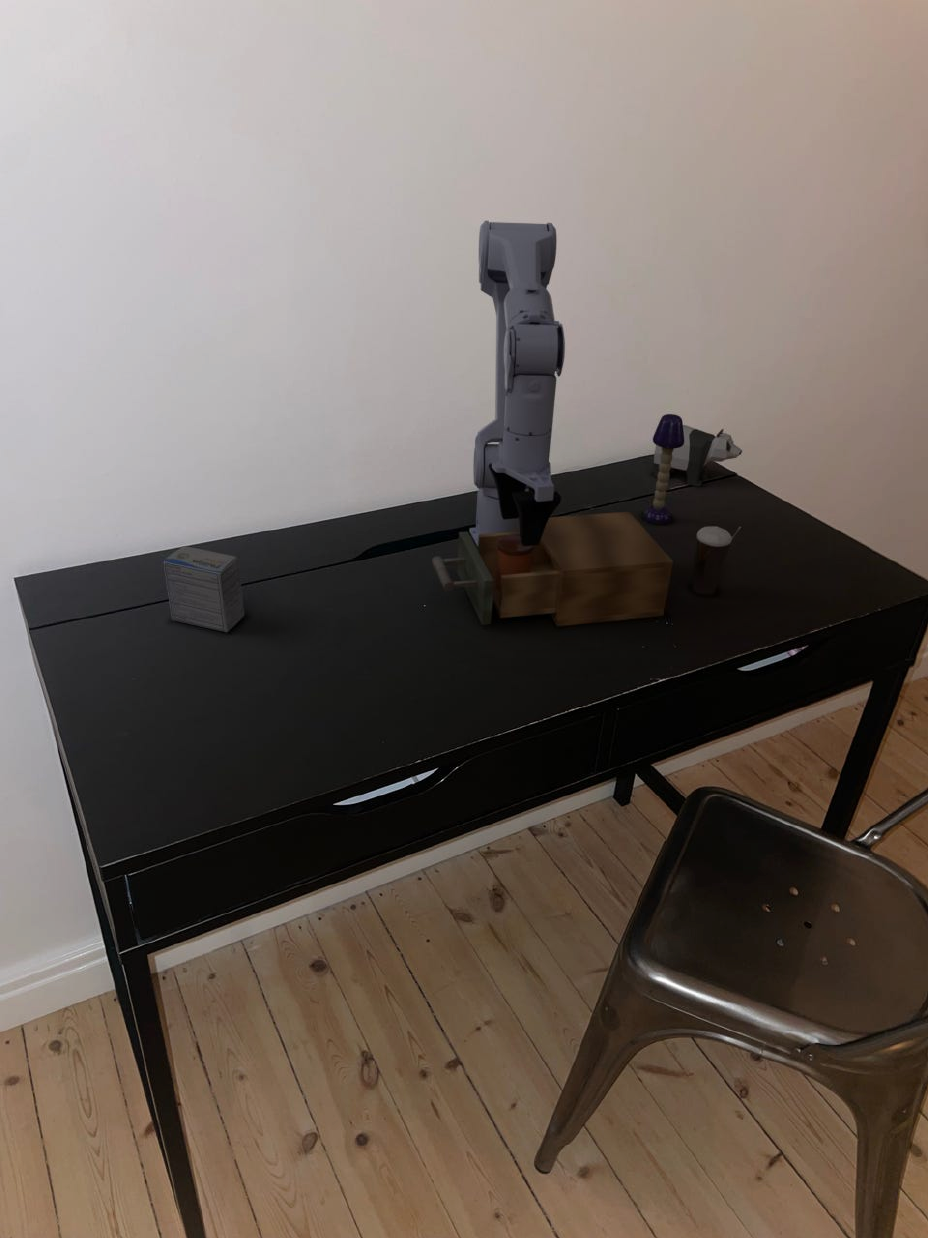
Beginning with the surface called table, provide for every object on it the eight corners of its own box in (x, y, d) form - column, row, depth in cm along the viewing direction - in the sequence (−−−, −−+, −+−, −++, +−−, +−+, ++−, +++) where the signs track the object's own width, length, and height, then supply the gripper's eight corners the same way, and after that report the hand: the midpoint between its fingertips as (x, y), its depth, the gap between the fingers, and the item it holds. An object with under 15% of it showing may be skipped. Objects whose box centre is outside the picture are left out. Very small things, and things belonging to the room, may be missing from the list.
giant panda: (645, 475, 164) (653, 421, 159) (656, 464, 168) (664, 412, 163) (729, 495, 158) (740, 440, 153) (738, 483, 162) (749, 430, 157)
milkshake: (727, 600, 128) (741, 534, 123) (686, 595, 129) (699, 528, 124) (726, 584, 132) (740, 519, 127) (686, 579, 133) (699, 514, 128)
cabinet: (556, 626, 121) (562, 570, 117) (523, 571, 133) (528, 518, 129) (663, 616, 124) (673, 561, 120) (621, 562, 136) (629, 511, 132)
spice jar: (490, 579, 127) (493, 536, 123) (524, 577, 128) (527, 533, 124) (500, 597, 123) (503, 552, 119) (534, 594, 124) (538, 549, 120)
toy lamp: (673, 526, 147) (691, 422, 138) (643, 525, 147) (659, 421, 138) (668, 513, 151) (685, 411, 142) (638, 511, 151) (653, 410, 142)
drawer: (448, 628, 118) (449, 584, 115) (426, 576, 129) (427, 534, 126) (584, 615, 122) (589, 572, 119) (551, 565, 133) (555, 524, 130)
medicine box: (245, 617, 120) (239, 556, 116) (226, 634, 117) (220, 572, 112) (190, 604, 122) (183, 544, 118) (170, 621, 119) (161, 559, 114)
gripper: (477, 409, 118) (472, 509, 125) (516, 452, 106) (508, 560, 113) (531, 405, 120) (523, 504, 127) (574, 447, 108) (563, 554, 115)
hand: (519, 530), depth 120 cm, fingers open, 7 cm apart
